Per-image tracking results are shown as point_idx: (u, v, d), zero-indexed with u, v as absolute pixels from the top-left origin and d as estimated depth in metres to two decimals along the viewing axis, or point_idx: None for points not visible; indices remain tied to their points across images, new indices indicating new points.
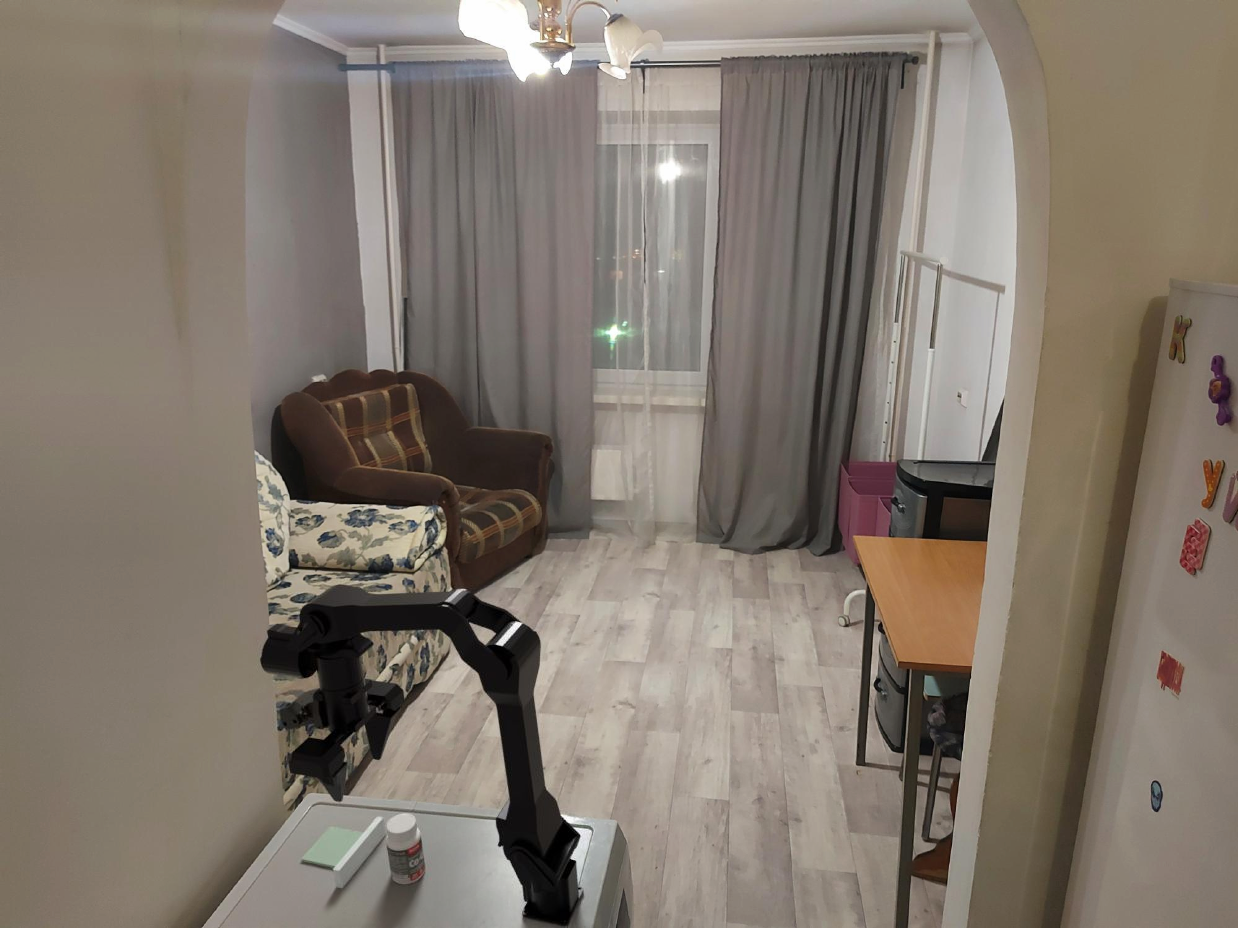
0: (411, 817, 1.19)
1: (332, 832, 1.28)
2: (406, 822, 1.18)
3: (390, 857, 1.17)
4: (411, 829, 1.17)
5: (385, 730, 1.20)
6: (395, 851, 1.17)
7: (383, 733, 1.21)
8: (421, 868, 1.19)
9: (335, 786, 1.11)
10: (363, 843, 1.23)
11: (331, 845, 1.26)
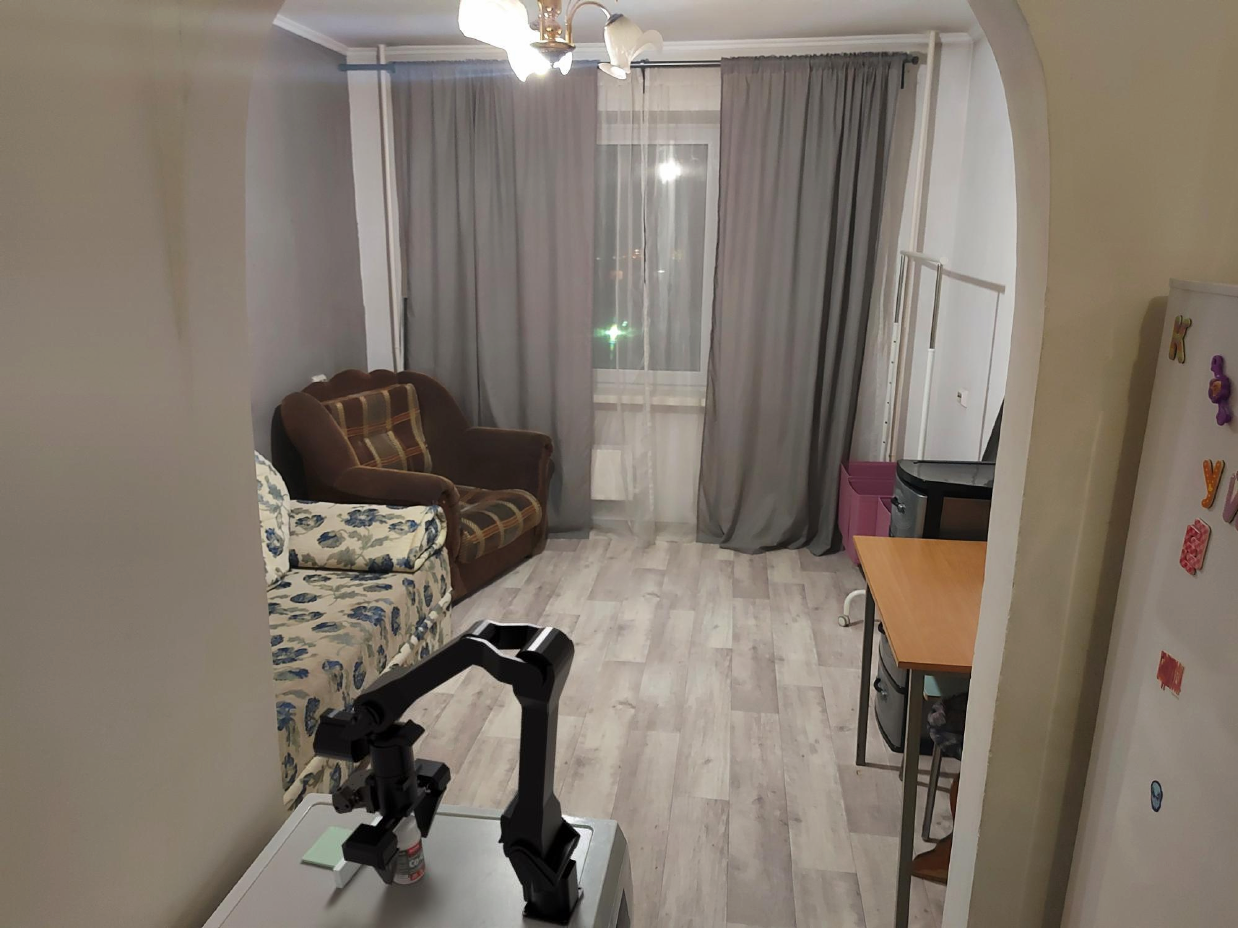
0: (411, 817, 1.19)
1: (332, 832, 1.28)
2: (406, 822, 1.18)
3: None
4: (411, 829, 1.17)
5: (432, 809, 1.22)
6: None
7: (430, 812, 1.22)
8: (421, 868, 1.19)
9: (387, 870, 1.13)
10: None
11: (331, 845, 1.26)
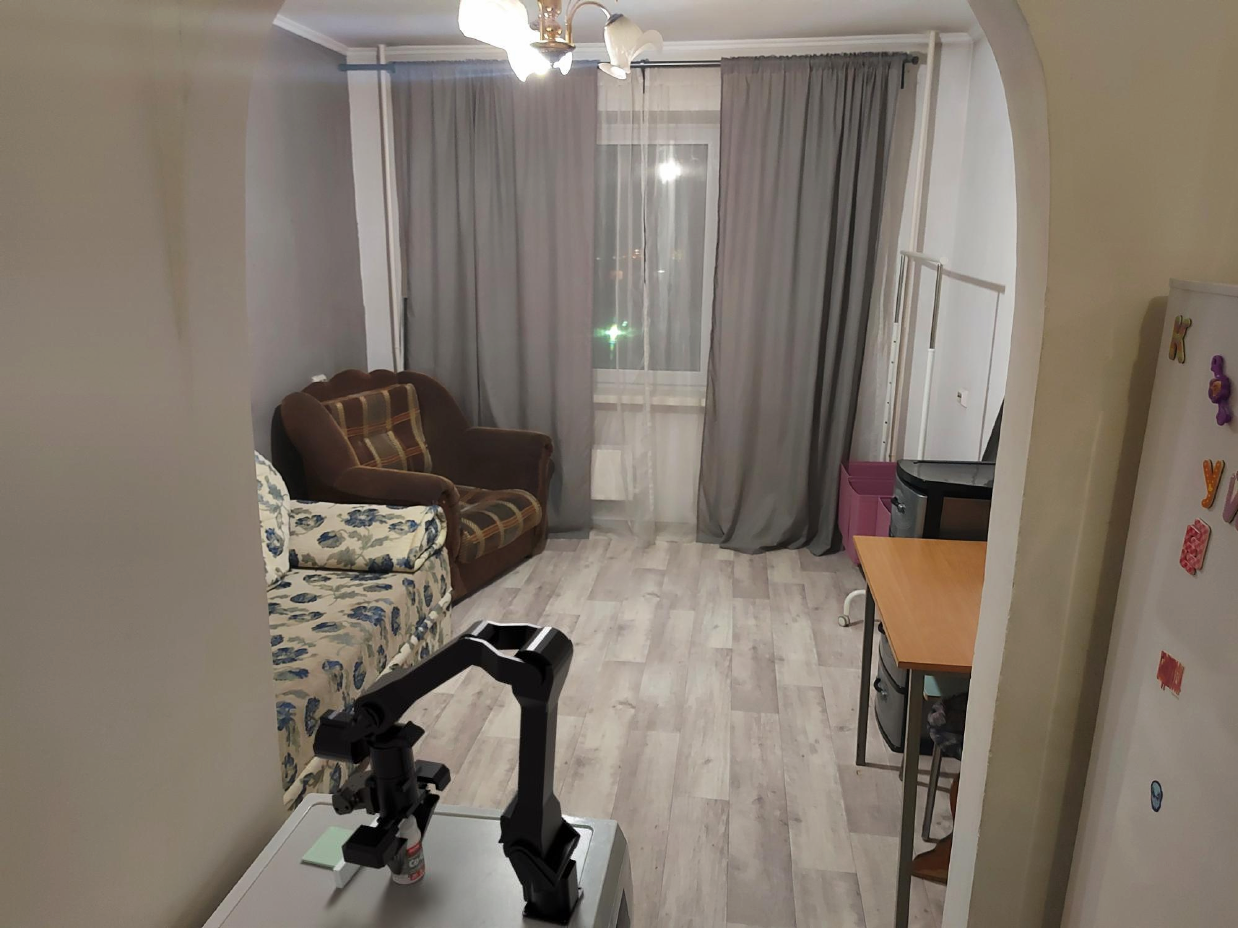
0: (411, 817, 1.19)
1: (332, 832, 1.28)
2: (406, 822, 1.18)
3: None
4: (411, 829, 1.17)
5: (425, 820, 1.20)
6: None
7: (423, 823, 1.20)
8: (421, 868, 1.19)
9: (395, 861, 1.15)
10: None
11: (331, 845, 1.26)
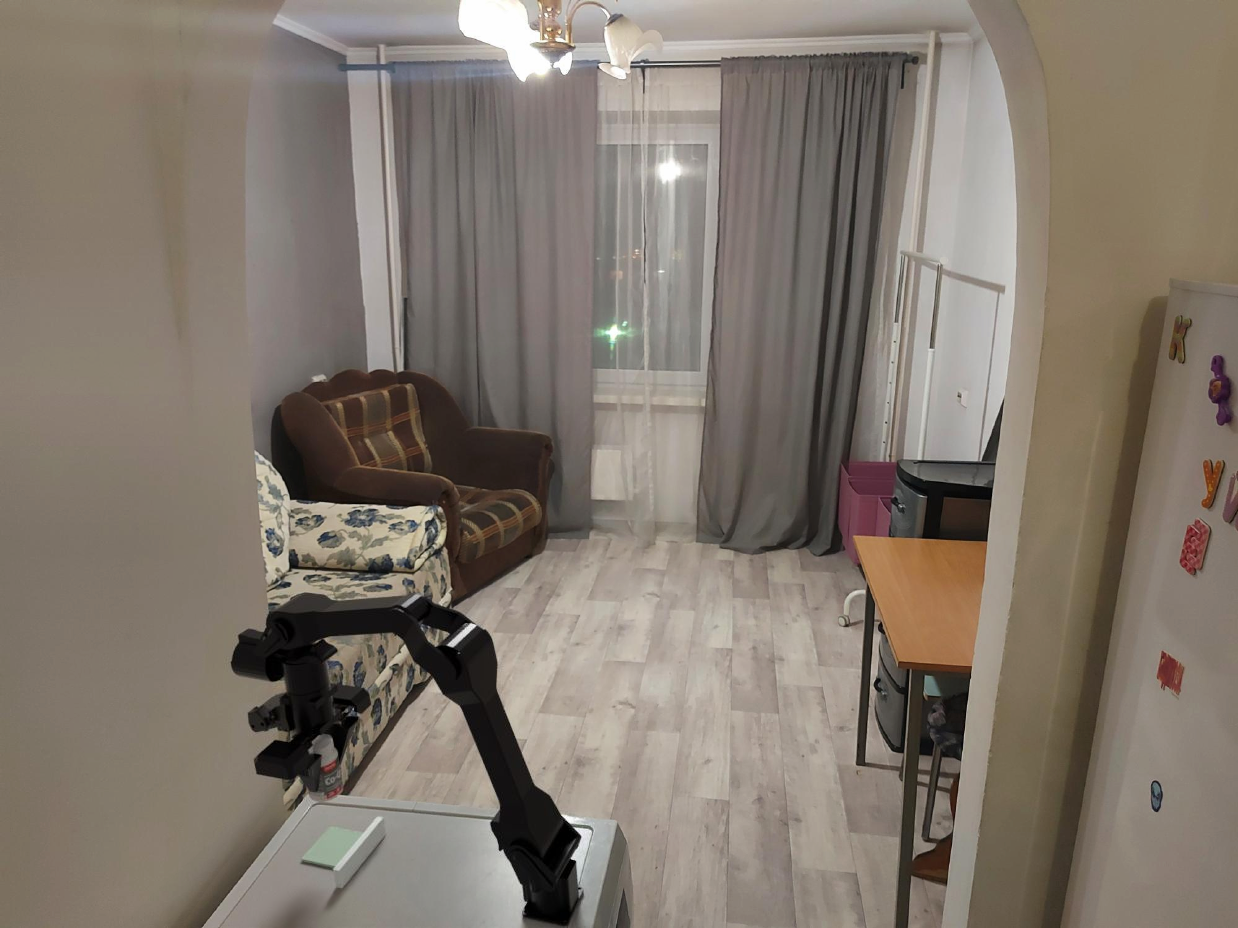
0: (328, 737, 1.21)
1: (332, 832, 1.28)
2: (323, 741, 1.20)
3: None
4: (327, 748, 1.19)
5: (343, 741, 1.23)
6: None
7: (341, 744, 1.23)
8: (338, 787, 1.22)
9: (310, 777, 1.18)
10: (363, 843, 1.23)
11: (331, 845, 1.26)
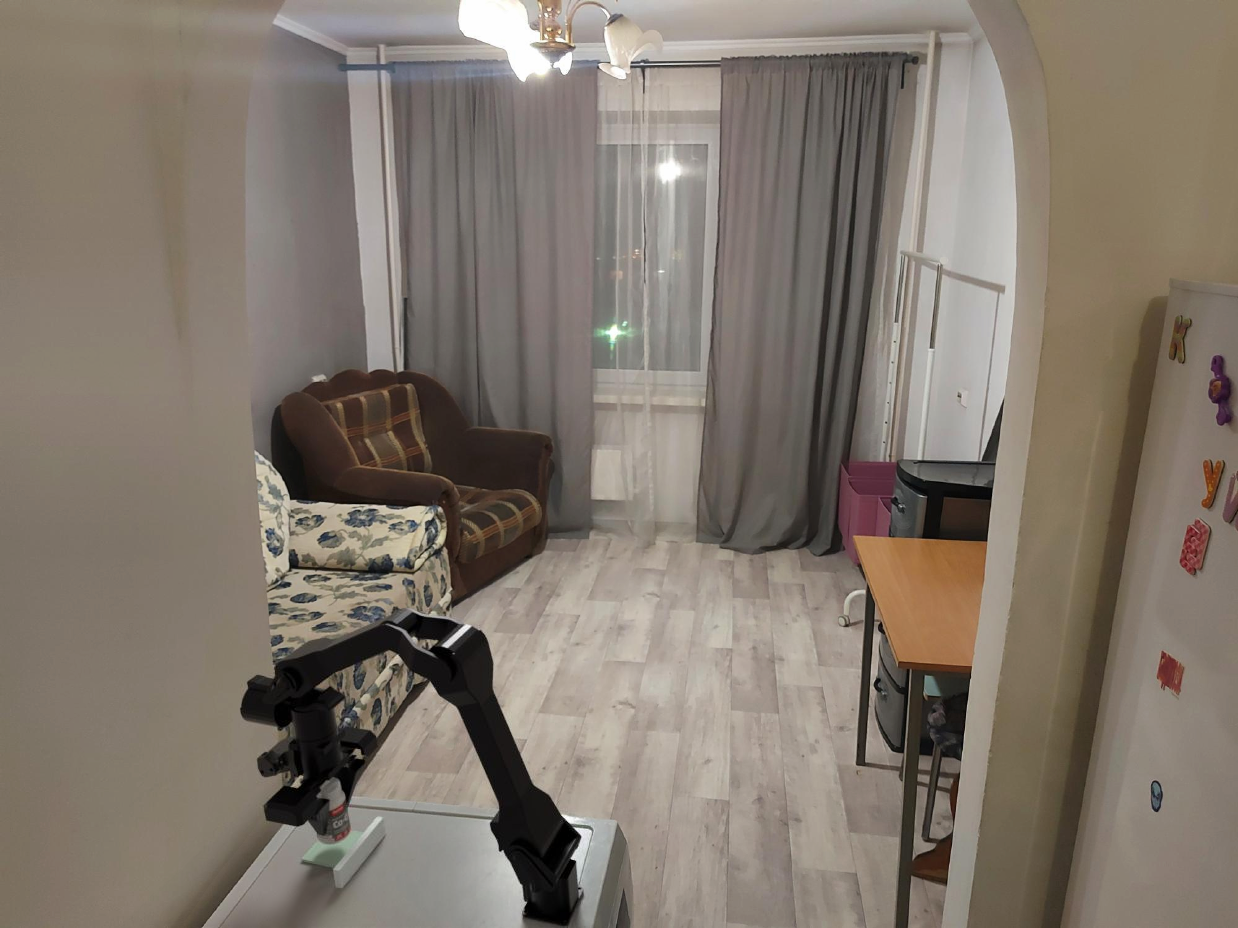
0: (336, 780, 1.23)
1: None
2: (330, 785, 1.22)
3: None
4: (335, 791, 1.22)
5: (350, 784, 1.25)
6: None
7: (348, 787, 1.25)
8: (346, 829, 1.24)
9: (318, 821, 1.20)
10: (363, 843, 1.23)
11: (331, 845, 1.26)
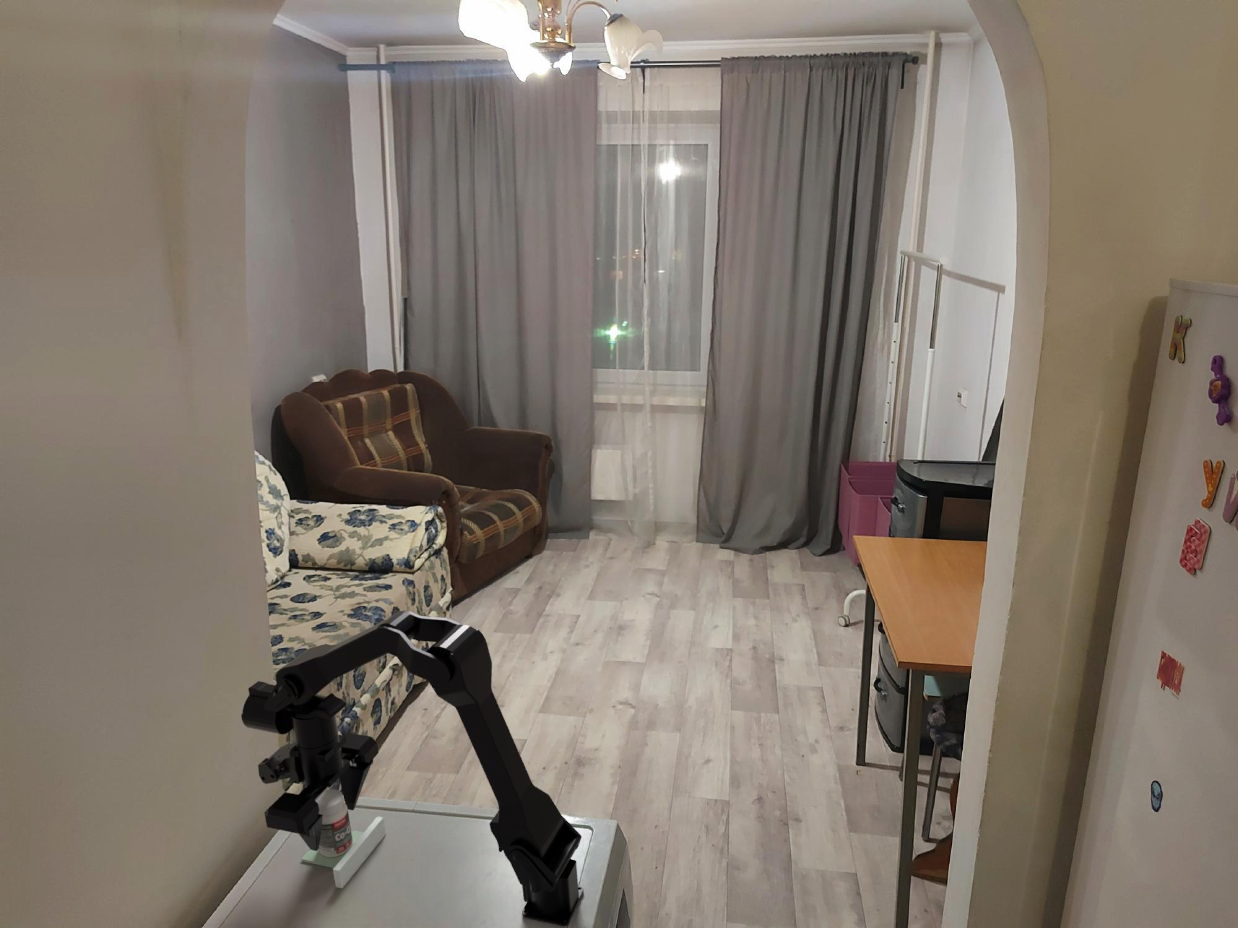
0: (338, 793, 1.24)
1: None
2: (333, 798, 1.23)
3: None
4: (337, 804, 1.22)
5: (358, 782, 1.27)
6: (322, 825, 1.22)
7: (356, 785, 1.27)
8: (348, 842, 1.24)
9: (311, 836, 1.18)
10: (363, 843, 1.23)
11: None
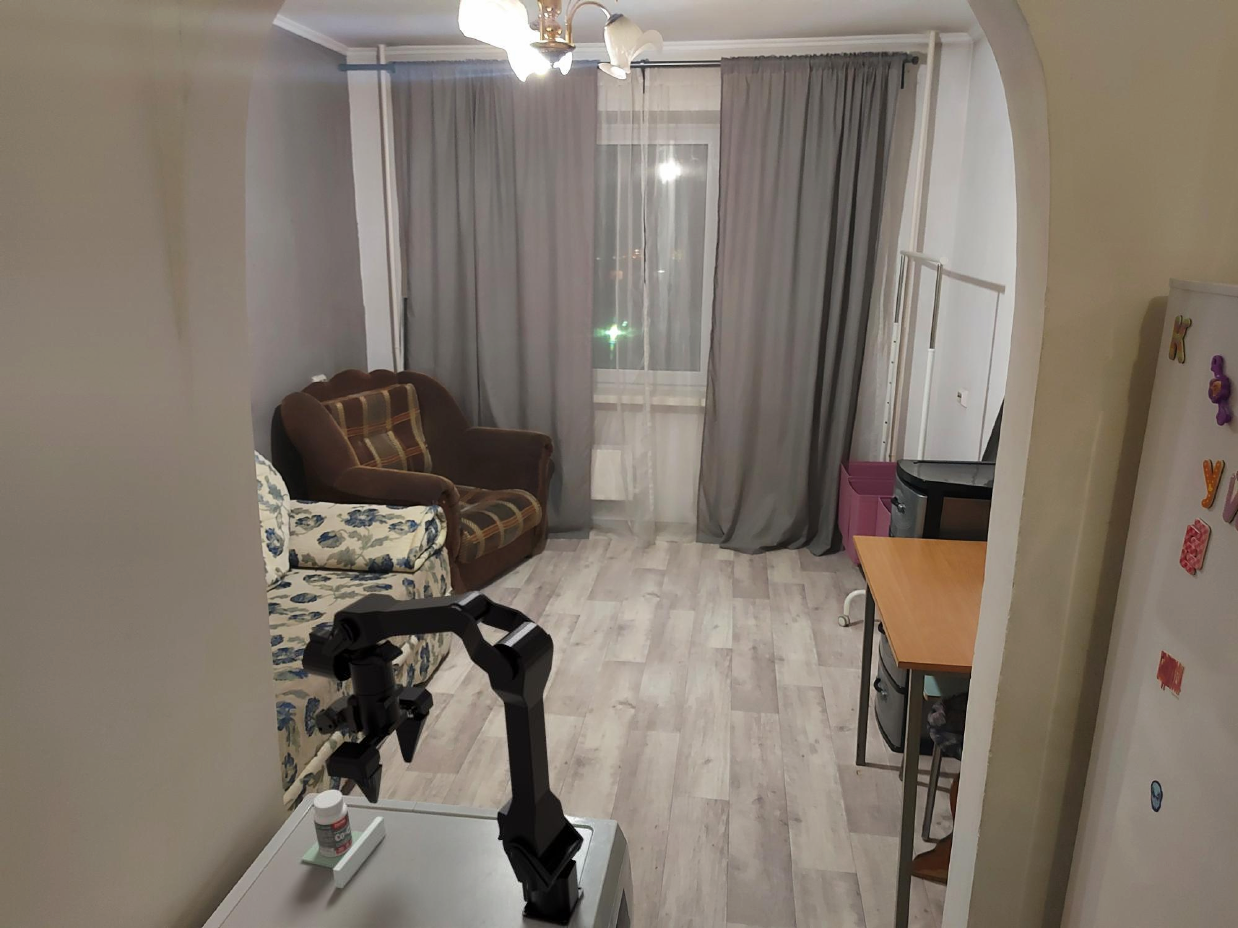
0: (338, 793, 1.24)
1: None
2: (333, 798, 1.23)
3: (317, 831, 1.23)
4: (337, 805, 1.22)
5: (416, 733, 1.24)
6: (321, 825, 1.22)
7: (414, 736, 1.25)
8: (347, 842, 1.24)
9: (371, 787, 1.15)
10: (363, 843, 1.23)
11: None
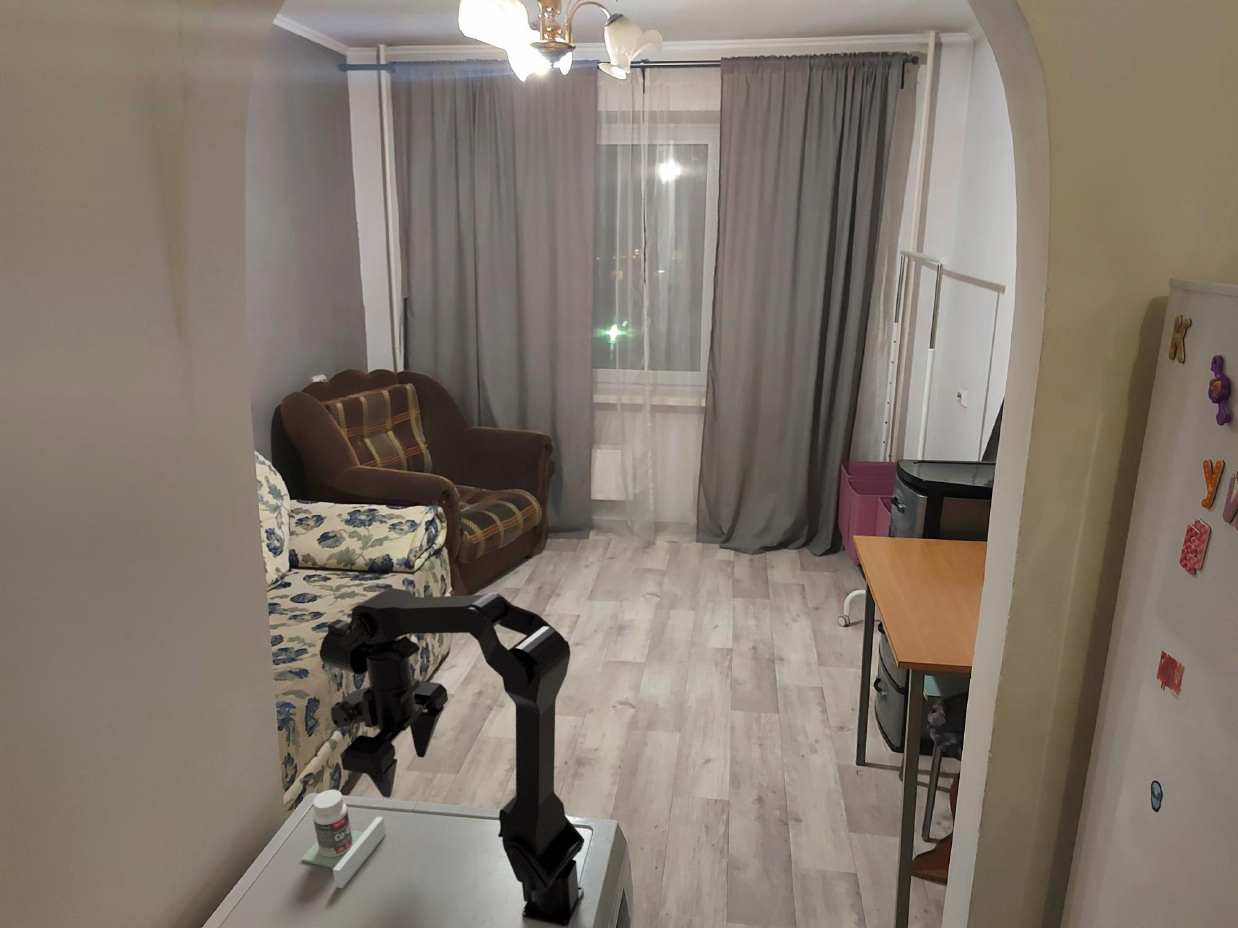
0: (338, 793, 1.24)
1: None
2: (332, 798, 1.23)
3: (317, 831, 1.23)
4: (336, 805, 1.22)
5: (430, 728, 1.24)
6: (321, 825, 1.22)
7: (428, 731, 1.25)
8: (347, 842, 1.24)
9: (385, 782, 1.15)
10: (363, 843, 1.23)
11: None
